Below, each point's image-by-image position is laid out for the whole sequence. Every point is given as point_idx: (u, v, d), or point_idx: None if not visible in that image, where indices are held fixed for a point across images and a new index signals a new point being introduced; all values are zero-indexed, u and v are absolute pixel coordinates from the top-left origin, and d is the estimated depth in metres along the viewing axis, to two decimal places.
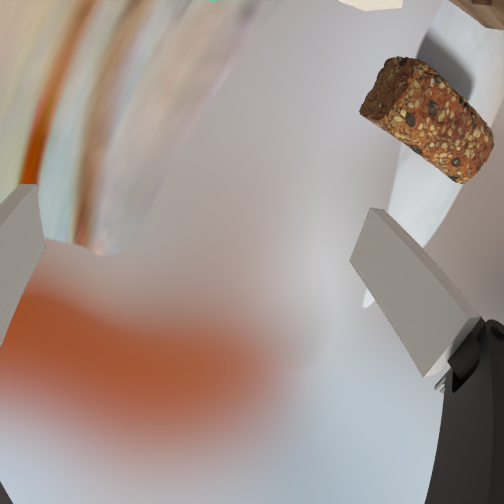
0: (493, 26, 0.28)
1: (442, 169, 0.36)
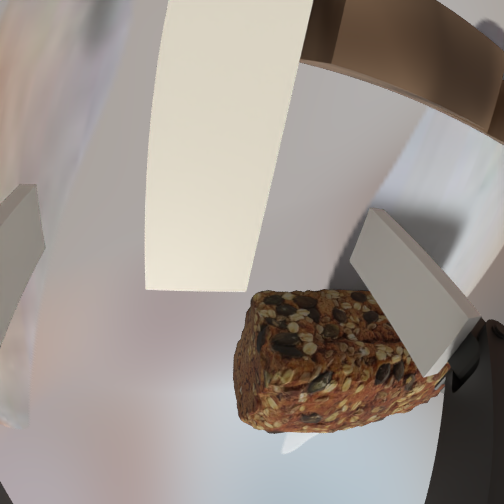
0: None
1: None
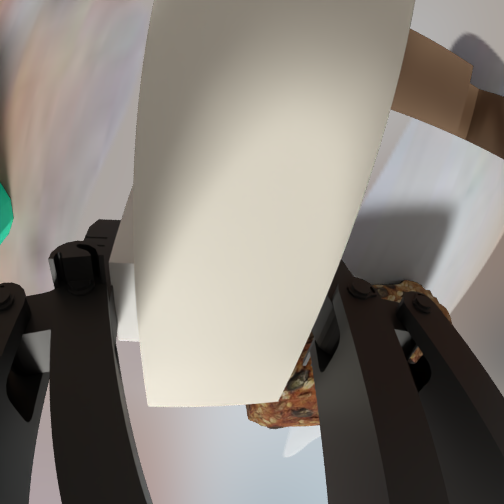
0: None
1: None
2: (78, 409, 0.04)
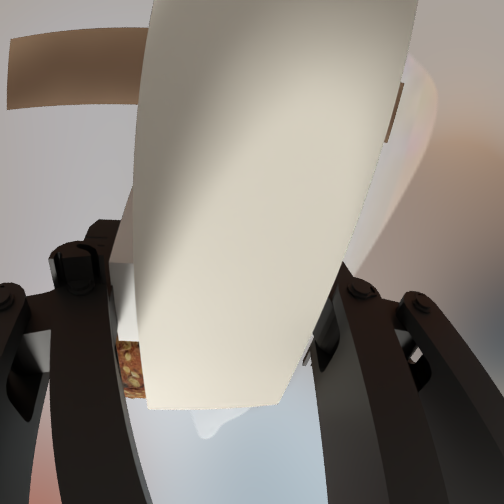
0: None
1: None
2: (78, 409, 0.04)
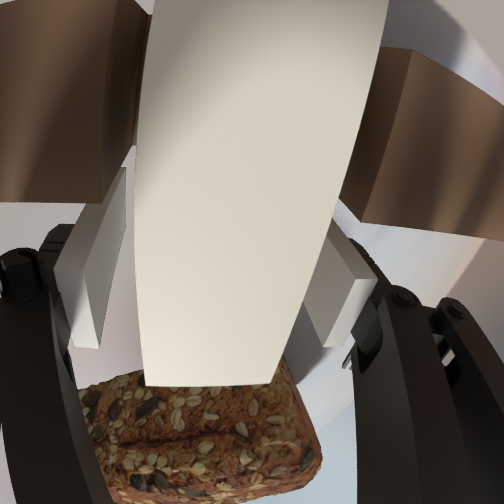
0: None
1: None
2: (25, 415, 0.03)
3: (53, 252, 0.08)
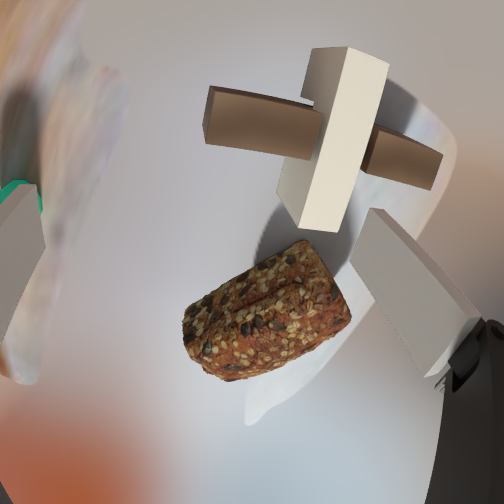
0: None
1: None
2: None
3: None
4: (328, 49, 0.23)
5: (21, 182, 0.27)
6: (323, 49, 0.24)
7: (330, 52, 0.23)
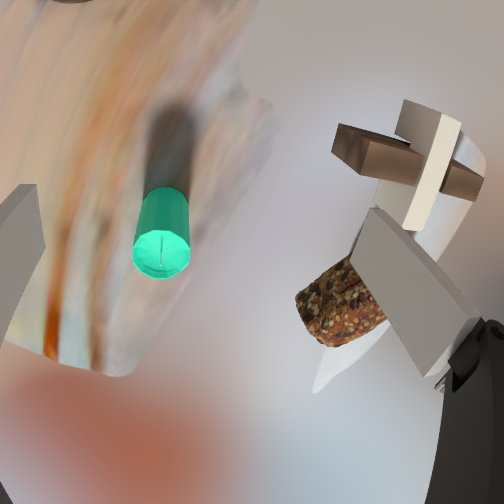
0: None
1: None
2: None
3: None
4: (422, 107, 0.33)
5: (172, 190, 0.38)
6: (417, 104, 0.34)
7: (424, 110, 0.33)
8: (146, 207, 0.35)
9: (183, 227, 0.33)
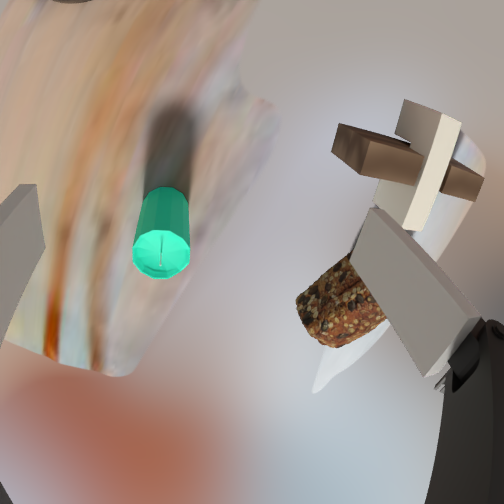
0: None
1: None
2: None
3: None
4: (422, 107, 0.33)
5: (172, 189, 0.38)
6: (417, 104, 0.34)
7: (425, 110, 0.33)
8: (146, 207, 0.35)
9: (183, 227, 0.33)
